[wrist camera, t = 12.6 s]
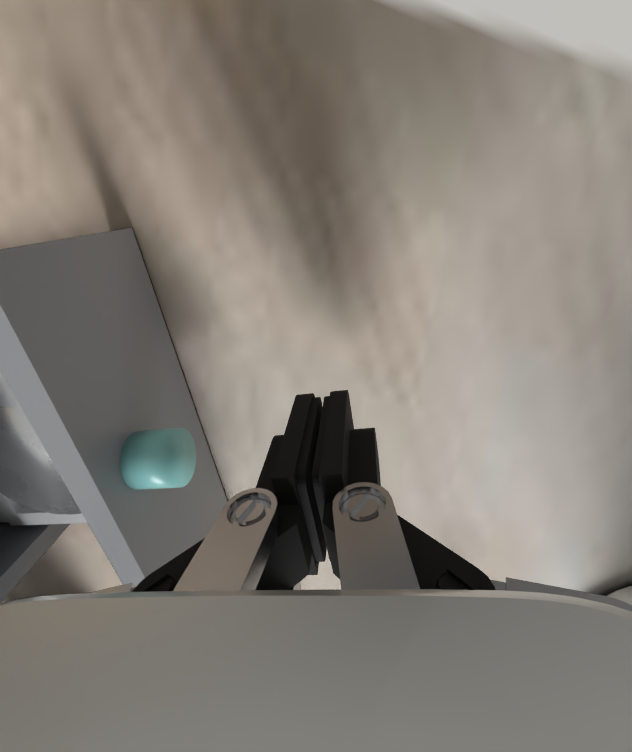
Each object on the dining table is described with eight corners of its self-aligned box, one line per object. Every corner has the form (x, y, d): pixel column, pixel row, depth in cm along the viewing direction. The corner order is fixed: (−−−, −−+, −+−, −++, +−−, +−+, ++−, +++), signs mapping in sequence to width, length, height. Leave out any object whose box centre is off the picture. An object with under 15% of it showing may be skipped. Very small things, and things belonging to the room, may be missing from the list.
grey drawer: (170, 220, 14) (34, 242, 8) (261, 515, 20) (219, 646, 14) (-168, 283, 17) (-444, 333, 11) (1, 524, 23) (-120, 636, 17)
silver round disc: (-42, 367, 16) (-90, 389, 15) (98, 341, 15) (62, 362, 13) (42, 489, 19) (9, 519, 18) (164, 476, 18) (142, 508, 16)
